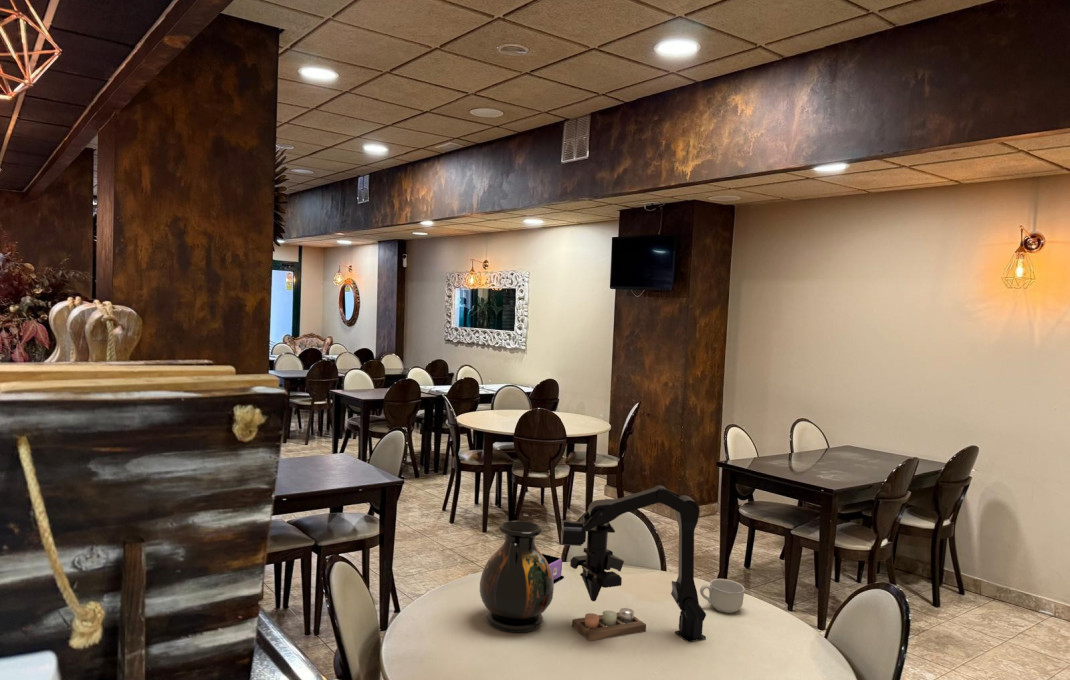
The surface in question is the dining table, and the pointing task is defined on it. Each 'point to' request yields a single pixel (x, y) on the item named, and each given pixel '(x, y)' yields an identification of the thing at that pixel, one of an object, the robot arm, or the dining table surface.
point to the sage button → (609, 618)
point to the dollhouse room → (555, 567)
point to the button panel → (608, 628)
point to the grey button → (626, 615)
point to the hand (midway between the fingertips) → (593, 600)
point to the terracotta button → (591, 621)
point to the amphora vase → (517, 580)
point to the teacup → (724, 595)
